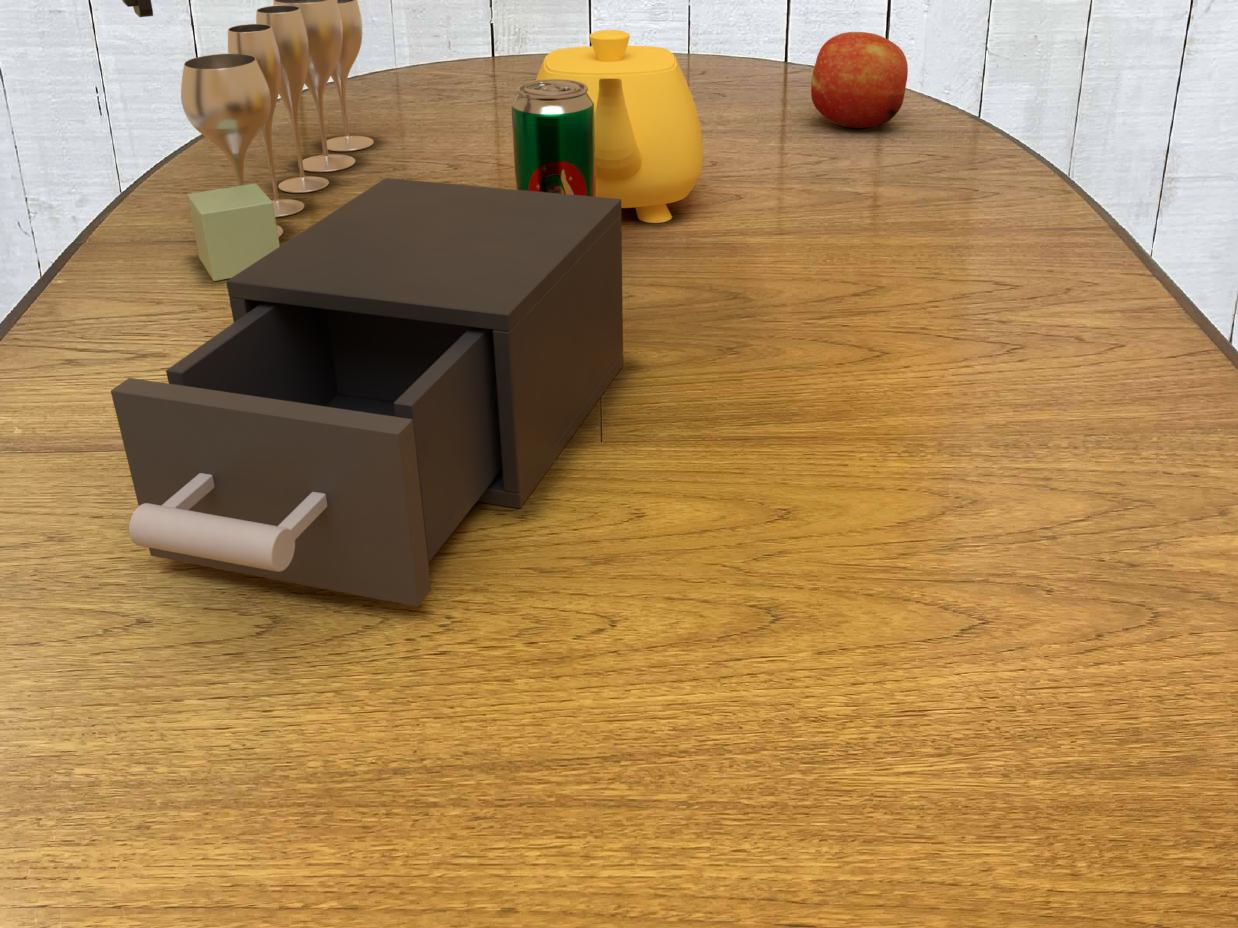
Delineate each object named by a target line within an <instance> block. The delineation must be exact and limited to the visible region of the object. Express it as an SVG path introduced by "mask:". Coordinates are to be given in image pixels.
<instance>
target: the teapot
mask: <svg viewBox="0 0 1238 928" xmlns="http://www.w3.org/2000/svg"><path fill="white" fill-rule="evenodd" d="M630 37H631V34H630V33H628V32H627V31H623V30H620V29H619V30H618V29H602V30H597V31H594V32H592V33H590V34H589V41H590V44H591V45H587V46H574V47H564V48H558V49H554V50H551V51H550V52H549V53H548V54H547V55H546V56H544V57H545V58H544V59H543V62H542V63H541V66H540V69H539V70H538V73H537V76H536V78H535V81H537V80H548V79H563V80H572V81H577V82H581V83H583V84H585V85H587V87H588V91H587V94H588V95H589V97H590V99H591V100H592V102H593V103H594V119H595V163H596V197H602V198H614V199H621V209H628V208H630V209H631V208H635V211H636V216H637V219H638V220H639V221H640V222H641V221H642V222H644V223H649V224H650V223H651V224H659V223H665V222H669V221H670V220H672V219H673V216H672V214H671V212H670V210H669V208H668V206H667V204H672V203H676V202H678V201H682V200H683V199H685V198H687V197H688V195H689V194H690V193H691V191H692V190H693V189H694V187H695V185H696V183H697V182H698V180H699V178H700V176H701V174H702V169H703V165H704V143H703V134H702V127H701V122H700V118H699V113H698V109H697V105H696V103H695V100H694V98H693V94H692V92H691V90H690V87H689V84H688V82H687V80H686V77H685V75H684V73H683V70H682V68H681V66H680V64H679V62H678V60H677V58H676V56H675V54H674V53H673V52H672V51H671V50H669V49H668V48H664V47H660V46H649V45H628V44H629V42H630Z"/></svg>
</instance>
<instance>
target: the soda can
mask: <svg viewBox="0 0 1238 928" xmlns="http://www.w3.org/2000/svg"><path fill="white" fill-rule="evenodd" d="M587 91H588V87H587V85H585V84H583V83H581V82H577V81H572V80H563V79H548V80H537V81H536V80H533V81H532V80H531V81H528V82H525V83H522V84H520V85H518V86H517V87H516V94H517V95H516V97H515V99H514V100H513V102H512V103H511V109H510V110H511V126H512V129H511V130H512V144H513V146H512V147H513V160H514V161H513V163H514V181H515V190H525V191H536V192H547V193H558V194H569V195H580V196H591V197H596V163H595V119H594V103H593V102H592V100H591V99H590V97H589V95H588V94H587Z"/></svg>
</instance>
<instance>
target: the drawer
mask: <svg viewBox="0 0 1238 928" xmlns="http://www.w3.org/2000/svg"><path fill="white" fill-rule="evenodd" d="M165 373H166V377H167V378H166V379H167V382H160V381H153V380H152V381H151V380H146V379H140V378H133V377H128V378H127V379H124V380H123V382H121V383H120V384H117V386H115V387H113V388H112V389H111V390H110V395H111V399H112V402H113V403H112V404H113V405H114V410H115V411H114V412H115V415H116V419H117V423H118V428H119V431H120V435H121V440H122V444H123V447H124V451H125V457H126V460H127V464H128V468H129V472H130V476H131V480H132V485H133V489H134V493H135V496H136V501H137V505H138V506H137V507H136V508H135V510H134V511H133V512H132V514H131V517H130V518H129V524H128V535H129V538H130V540H131V541H132V543H133V544H135V545H136V546H138V547H139V546H140V547H145V548H148V550H149V555H150V556H151V557H155V558H161V559H165V560H171V561H175V562H180V563H181V562H182V563H187V564H191V565H197V566H202V567H208V568H212V569H217V570H222V571H228V572H233V573H238V574H243V575H249V576H254V577H260V578H263V579H264V578H265V579H270V580H274V581H275V580H276V581H280V582H287V583H292V584H296V585H302V586H305V587H312V588H318V589H322V590H327V591H332V592H338V593H345V594H349V595H354V596H359V597H364V598H369V599H375V600H381V601H385V602H389V603H390V602H391V603H395V604H403V605H407V606H413V607H420V606H421V604H422V603H423V602H424V600H425V599H426V598H427V596H428V595H429V593H431V592H432V586H431V585H432V584H431V577H430V576H431V575H430V567H429V563H430V562H431V560H432V559H433V558H434V557H435V555H436V554H437V553H438V552H439V550H440V549H441V548H442V547H443V545H444V544H445V543H446V541H447V540H449V537H450V536H451V535H452V534H453V532H454V531H455V530H456V529H457V528H458V526H460V524H461V522H462V521H463V520H464V518H465V517H466V516H467V515H468V513H469V512H470V511H471V509H472V508H473V507H474V505H475V504H476V503H477V502H478V501H477V500H478V499H479V498H480V497H481V495H482V494H483V493H484V491H485V490H486V489H487V488H488V486H489V485H490V484H491V482H492V481H493V480H494V479H495V477H496V476H497V475H498V474H499V472H500V471H501V470H502V457H501V442H500V428H499V414H498V400H497V385H496V371H495V357H494V342H493V330H492V329H484V328H475V327H467V326H459V325H451V324H443V323H435V322H427V321H418V320H410V319H402V318H394V317H386V316H378V315H370V314H361V313H353V312H345V311H337V310H329V309H321V308H313V307H305V306H296V305H288V304H280V303H272V302H263V303H261V304H260V305H258V306H257V307H255V308H254V309H253V310H251V311H250V312H248V313H247V314H246V315H244V316H243V317H241V318H240V319H238V320H237V321H236V322H234V321H233V322H232V323H231V324H229V325H228V326H227V327H226V328H224V329H223V330H221V331H220V332H219V333H217V334H215V335H214V336H212V337H211V338H210V339H209V340H207V341H206V342H204V343H203V344H201V345H200V346H198V347H197V348H195V349H194V350H192V351H191V352H189V354H187V355H186V356H184V357H182V358H181V359H179V361H177V362H176V363H174V364H173V365H172V366H170V367H168V368H167V369H166V370H165Z"/></svg>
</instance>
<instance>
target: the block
mask: <svg viewBox="0 0 1238 928" xmlns="http://www.w3.org/2000/svg"><path fill="white" fill-rule="evenodd" d="M186 197H187V202H188V205H189V213H190V217H191V222H192V227H193V232H194V239H195V244H196V248H197V253H198V258H199V260H200V262H201V263H202V265H203V267H204V269H205V271H207V273H208V275H209V276H210V278H211V279H212V281H213V282H217V281H218V282H219V281H222V280H223V281H224V280H229V279H231V278H232V277H234V276H235V275H237V274H238V273H240V272H241V271H243V270H244V269H246V268H248V267H249V266H251V265H252V264H254V263H255V262H257V261H258V260H260V259H261V258H263V257H265V256H266V255H268V254H269V253H271V252H272V251H274V250H275V249H277V248H278V247H280V246H281V245H280V237H279V238H278V231H277V225H278V224H277V220H276V217H275V212H274V206H273V202H272V201H271V200H272V199H270V197H269V196H268V195H267V194H266V193H265V192H264V191H263V189H262V188H261V187H260V186H259V185H258V183H250V184H244V185H242V186H238V185H236V186H231V187H230V186H229V187H224V188H216V189H211V190H204V191H197V192H191V193H187V195H186Z"/></svg>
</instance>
